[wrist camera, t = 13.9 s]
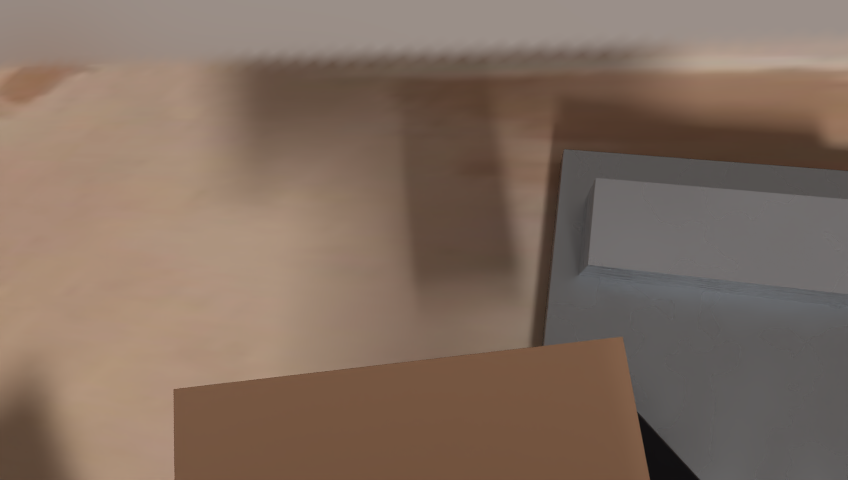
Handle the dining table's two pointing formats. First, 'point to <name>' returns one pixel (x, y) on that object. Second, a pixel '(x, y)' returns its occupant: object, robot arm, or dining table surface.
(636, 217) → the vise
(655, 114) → the dining table surface
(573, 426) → the tan rectangular block
